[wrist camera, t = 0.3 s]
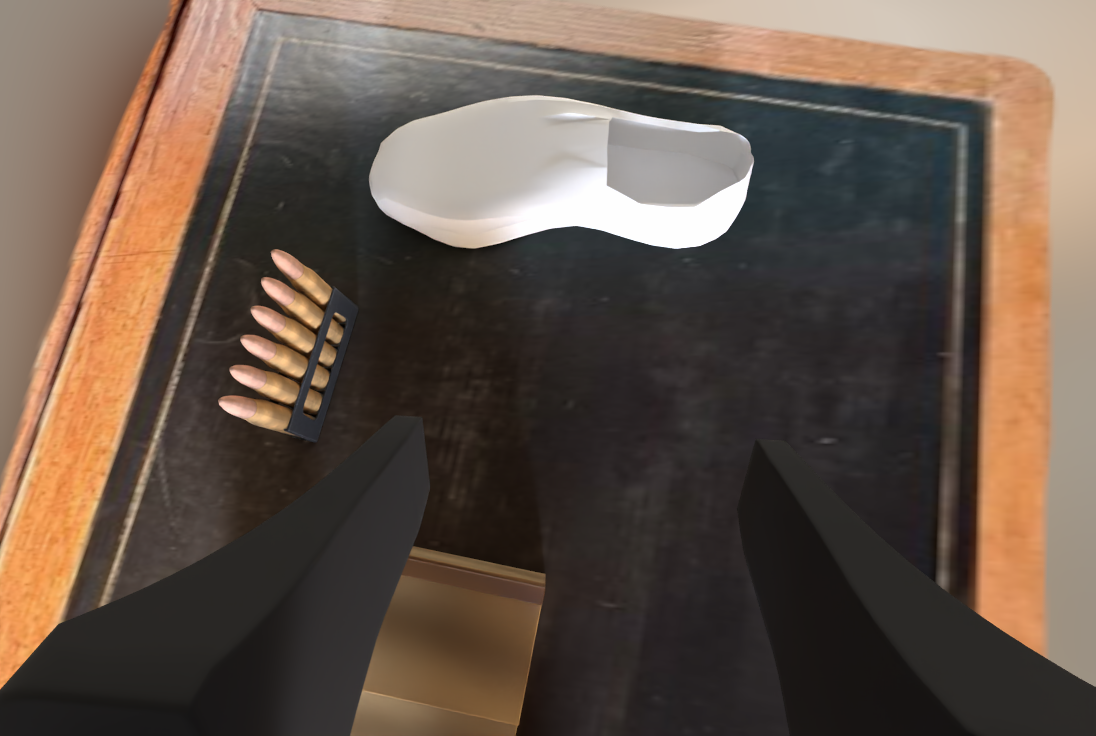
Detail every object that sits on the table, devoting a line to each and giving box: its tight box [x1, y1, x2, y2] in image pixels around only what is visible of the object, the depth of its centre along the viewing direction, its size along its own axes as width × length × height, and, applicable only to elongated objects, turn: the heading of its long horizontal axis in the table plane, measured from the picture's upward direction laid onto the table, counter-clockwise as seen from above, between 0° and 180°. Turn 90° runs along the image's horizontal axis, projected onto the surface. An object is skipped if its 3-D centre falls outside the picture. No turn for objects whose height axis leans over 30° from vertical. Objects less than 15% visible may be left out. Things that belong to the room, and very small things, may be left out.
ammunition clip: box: [218, 249, 359, 442], centre depth 38 cm, size 11×2×12 cm, turn 167°
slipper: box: [369, 95, 754, 249], centre depth 43 cm, size 28×10×8 cm, turn 85°
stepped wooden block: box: [350, 546, 545, 736], centre depth 36 cm, size 15×11×6 cm
